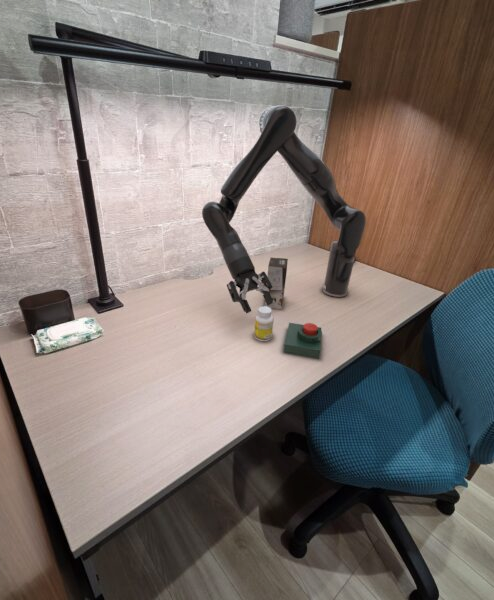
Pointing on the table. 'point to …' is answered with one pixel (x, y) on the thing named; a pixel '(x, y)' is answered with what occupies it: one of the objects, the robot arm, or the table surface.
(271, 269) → the coffee box
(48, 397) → the table surface
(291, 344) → the console
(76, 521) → the table surface
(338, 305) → the table surface
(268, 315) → the supplement bottle
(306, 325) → the button
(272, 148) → the robot arm
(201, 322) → the table surface
